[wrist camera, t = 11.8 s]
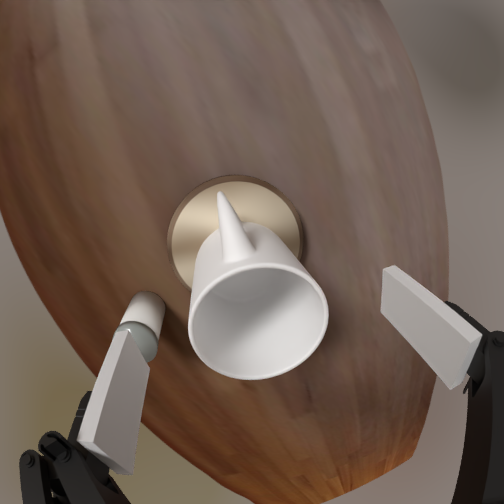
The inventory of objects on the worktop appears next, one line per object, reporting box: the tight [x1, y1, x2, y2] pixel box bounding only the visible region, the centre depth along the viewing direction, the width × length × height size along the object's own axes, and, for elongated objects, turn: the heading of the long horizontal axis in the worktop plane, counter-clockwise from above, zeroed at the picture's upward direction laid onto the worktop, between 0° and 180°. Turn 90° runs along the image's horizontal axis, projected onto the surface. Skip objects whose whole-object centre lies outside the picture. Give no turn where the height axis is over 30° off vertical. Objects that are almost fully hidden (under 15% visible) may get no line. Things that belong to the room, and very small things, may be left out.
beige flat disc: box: [167, 175, 303, 293], centre depth 26 cm, size 13×13×2 cm
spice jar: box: [113, 291, 165, 363], centre depth 25 cm, size 4×4×7 cm
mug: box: [188, 191, 329, 380], centre depth 20 cm, size 9×12×11 cm
